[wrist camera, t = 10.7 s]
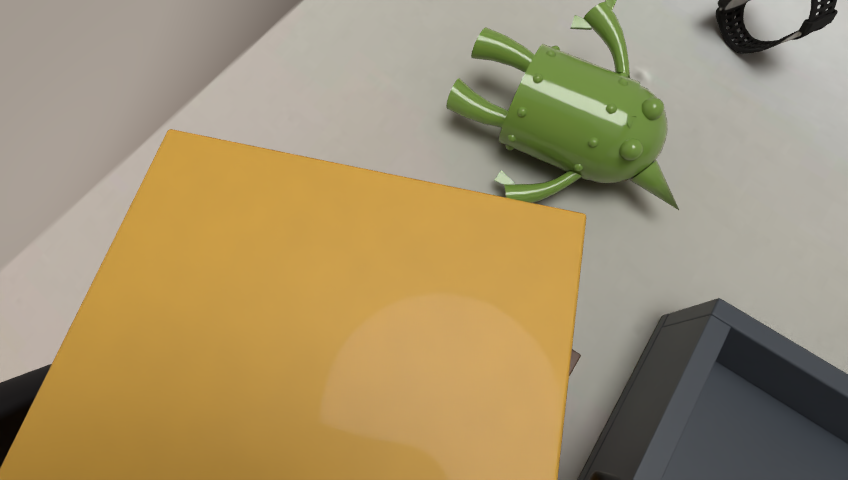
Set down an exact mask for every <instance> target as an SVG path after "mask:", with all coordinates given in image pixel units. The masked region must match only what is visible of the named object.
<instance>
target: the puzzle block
mask: <svg viewBox="0 0 848 480" xmlns="http://www.w3.org/2000/svg"><path fill="white" fill-rule="evenodd" d="M585 225H586V215H585V214H583V213H578V212H573V211H568V210H564V209H559V208H554V207H549V206H544V205H539V204H534V203H529V202H524V201H520V200H515V199H510V198H505V197H500V196H495V195H490V194H485V193H480V192H475V191H471V190H466V189H461V188H456V187H451V186H446V185H441V184H436V183H431V182H427V181H422V180H417V179H412V178H407V177H402V176H397V175H392V174H387V173H383V172H378V171H373V170H368V169H363V168H358V167H353V166H348V165H343V164H339V163H334V162H329V161H324V160H319V159H314V158H309V157H304V156H299V155H294V154H290V153H285V152H280V151H275V150H270V149H265V148H260V147H255V146H250V145H246V144H241V143H236V142H231V141H226V140H221V139H216V138H211V137H206V136H202V135H197V134H192V133H187V132H182V131H177V130H172V129H170V130H168V131H167V133H166V135H165V137H164V139H163V141H162V143H161V145H160V147H159V149H158V151H157V153H156V155H155V157H154V159H153V161H152V163H151V165H150V167H149V169H148V171H147V174H146V176H145V178H144V180H143V182H142V184H141V186H140V188H139V190H138V192H137V194H136V196H135V198H134V200H133V202H132V204H131V206H130V208H129V210H128V212H127V214H126V216H125V218H124V220H123V222H122V224H121V226H120V228H119V230H118V232H117V234H116V236H115V238H114V240H113V242H112V244H111V246H110V248H109V250H108V252H107V254H106V256H105V258H104V260H103V262H102V264H101V266H100V268H99V270H98V272H97V274H96V276H95V278H94V280H93V282H92V284H91V286H90V288H89V290H88V292H87V294H86V296H85V298H84V300H83V302H82V304H81V306H80V308H79V310H78V312H77V315H76V317H75V319H74V321H73V323H72V325H71V327H70V329H69V331H68V333H67V335H66V337H65V339H64V341H63V343H62V345H61V347H60V349H59V351H58V353H57V355H56V357H55V359H54V361H53V363H52V365H51V367H50V369H49V371H48V373H47V375H46V377H45V379H44V381H43V383H42V385H41V387H40V389H39V391H38V393H37V395H36V397H35V399H34V401H33V403H32V405H31V407H30V409H29V411H28V413H27V415H26V417H25V419H24V421H23V423H22V425H21V427H20V429H19V431H18V433H17V435H16V437H15V439H14V441H13V443H12V445H11V447H10V449H9V451H8V453H7V456H6V458H5V460H4V462H3V464H2V466H1V468H0V480H557V479H558V470H559V461H560V452H561V443H562V434H563V425H564V415H565V406H566V397H567V388H568V379H569V370H570V361H571V352H572V343H573V334H574V325H575V316H576V307H577V298H578V288H579V279H580V270H581V261H582V252H583V243H584V234H585Z"/></svg>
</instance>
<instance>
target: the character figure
mask: <svg viewBox="0 0 848 480" xmlns="http://www.w3.org/2000/svg"><path fill="white" fill-rule="evenodd" d="M615 3H616V0H605V2H602V3H600V4H598V5H596V6H595V7H594V8H592V9H591V10H590V11H589V12H588V13H587V14H586V15H585V17H584V18H581V17H578V16H576V15H575V16H574V19H573V22H572V26H571V29H585V30H591V29H593V30H594V31H595V32H596V33H597V34H598V35H599V36H600V37H601V38H602V40H603V41H604V42H605V44H606V45H607V47H608V48H609V50H610V52H611V54H612V56H613V60H614V65H615V72H613V71H611V70H608V69H605V68H603V67H600V66H598V65H595V64H593V63H590V62H588V61H585V60H583V59H580V58H578V57H575V56H573V55H570V54H567V53H565V52H562V51H560V49H559V47H558V46H553V47H550V46H547V45H545V44H542V45H541V46H540V47H539V49H538V50H537V52H536V54H535V55H534V54H533V53H532V52H530V51H529V50H528V49H527V48H525V47H524V46H522V45H521V44H519V43H517V42H516V41H514V40H512V39H511V38H509V37H507V36H505V35H503V34H500V33H498V32H496V31H493V30H491V29H488V28H484V29H483V30H482V31H481V33H480V35H479V36H478V38H477V40H476V42H475V45H474V47H473V50H472V55H471V57H472V58H475V59H483V60H491V61H496V62H499V63H502V64H506V65H509V66H513V67H515V68H517V69H519V70H521V71H523V72H525V74H524V76H523V79H522V81H521V83H520V85H519V87H518V89H517V92H516V94H515V96H514V98H513V101H512V103H511V105H510V108H509V110H506V109H503V108H501V107H499V106H496V105H494V104H492V103H490V102H489V101H487V100H486V99H484V98H483V97H481V96H480V95H478V94H476V93H475V92H474V91H473V90H472V89H471V88H469V87H468V86H467V85H466V84H465V83H464V82H463V81H462V80H461V79H460V78H459V79H457V81H456V82H455V84H454V85H453V87H452V89H451V92H450V94H449V97H448V100H447V109H449V110H451V111H453V112H455V113H457V114H459V115H461V116H463V117H465V118H468V119H471V120H474V121H477V122H480V123H483V124H487V125H492V126H497V127H502V129H501V132H500V136H499V142H500V143H502V144H505V145H506V148H507V149H508V150H513V149H516V150H518V151H521V152H523V153H525V154H527V155H530V156H532V157H534V158H536V159H539V160H541V161H543V162H546V163H548V164H550V165H552V166H555V167H557V168H559V169H561V170H564V171H566V172H567V173H565V174H563V175H561V176H560V177H558V178H556V179H554V180H551V181H548V182H545V183H537V184H515V183H514V182H513V181H512V180H511V179H510V178H509V177H508V176H507V175H506V174H505V173H504V172H502V171H500V173H499V174H498V176H497V177H496V178H495V180H494V181H496V182H498V183H501V184H503V185H504V189H505V195H506V198H510V199H515V200H520V201H524V202H529V203H534V202H537V201H540V200H542V199H545V198H547V197H549V196H551V195H553V194H555V193H557V192H559V191H560V190H562V189H564V188H566V187H567V186H569V185H570V184H572V183H573V182H575V181H576V180H578V179H579V178H582V179H584V180H590V181H593V182H598V183H618V182H622V181H626V180H629V179H630V180H631V181H632V182H634V183H635V184H637V185H639V186H640V187H642V188H644V189H645V190H647V191H649V192H650V193H652V194H653V195H655V196H657V197H658V198H660V199H662V200H663V201H665V202H666V203H668V204H670V205H671V206H673V207H675V208H676V209H678V206H677V204H676V202H675V200H674V198H673V195H672V193H671V191H670V189H669V187H668V184H667V182H666V180H665V178H664V176H663V173H662V171H661V169H660V167H659V165H658V162H657V160H656V159H657V157H658V156H659V154H660V153H661V151H662V148H663V146H664V143H665V140H666V135H667V118H666V114H665V110H664V104H663V102H662V101H661V100H660V99H658V98H657V97H656V96H655V95H654V94H653V93H652V92H651V91H649V90H648V89H647V88H645V87H643V86H641V85H640V82H638V81H636V80H633V79H631V78H630V73H629V61H628V54H627V47H626V43H625V39H624V35H623V31H622V28H621V26H620V24H619V22H618V19H617V17H616V15H615V14H614V13H613V11H612V9H613V7H614V5H615ZM678 210H679V209H678Z"/></svg>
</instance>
